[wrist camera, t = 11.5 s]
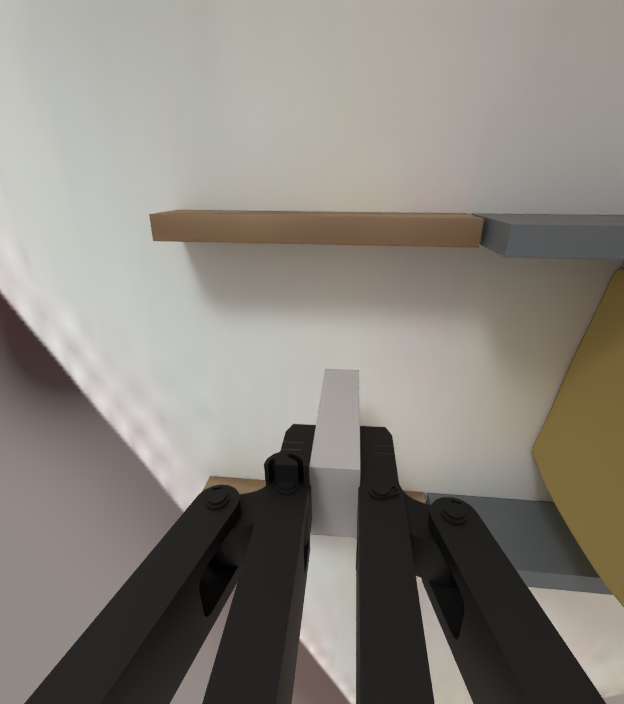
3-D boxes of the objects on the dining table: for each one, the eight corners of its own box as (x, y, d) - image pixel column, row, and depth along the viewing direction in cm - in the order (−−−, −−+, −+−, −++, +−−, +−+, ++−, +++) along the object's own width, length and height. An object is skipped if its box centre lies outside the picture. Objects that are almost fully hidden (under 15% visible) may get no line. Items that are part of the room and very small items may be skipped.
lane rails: (176, 209, 17) (149, 214, 15) (466, 213, 16) (483, 218, 14) (211, 489, 24) (196, 521, 22) (421, 505, 23) (428, 542, 20)
